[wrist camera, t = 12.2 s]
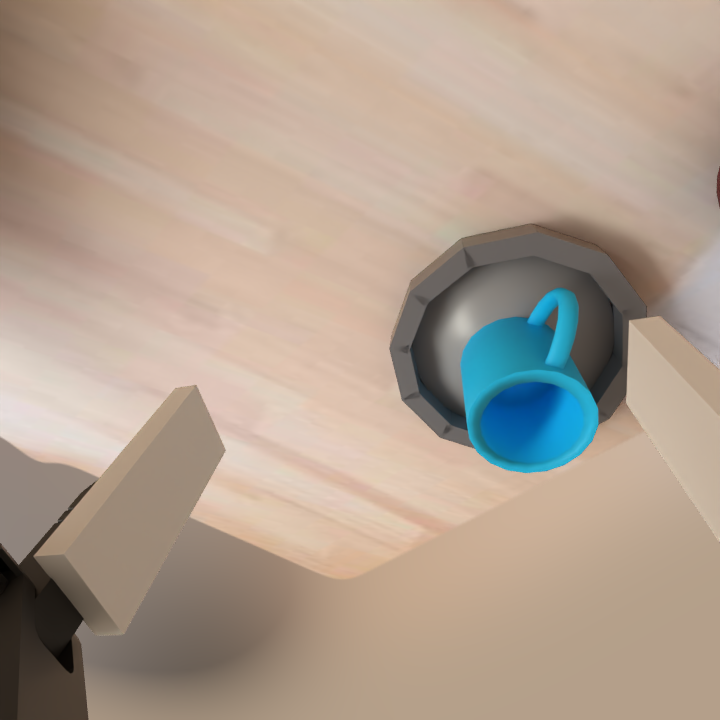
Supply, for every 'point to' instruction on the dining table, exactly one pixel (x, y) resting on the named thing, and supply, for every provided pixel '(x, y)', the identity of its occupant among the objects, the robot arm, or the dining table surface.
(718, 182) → the decorative ball
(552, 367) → the mug
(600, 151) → the dining table surface
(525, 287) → the holder ring
